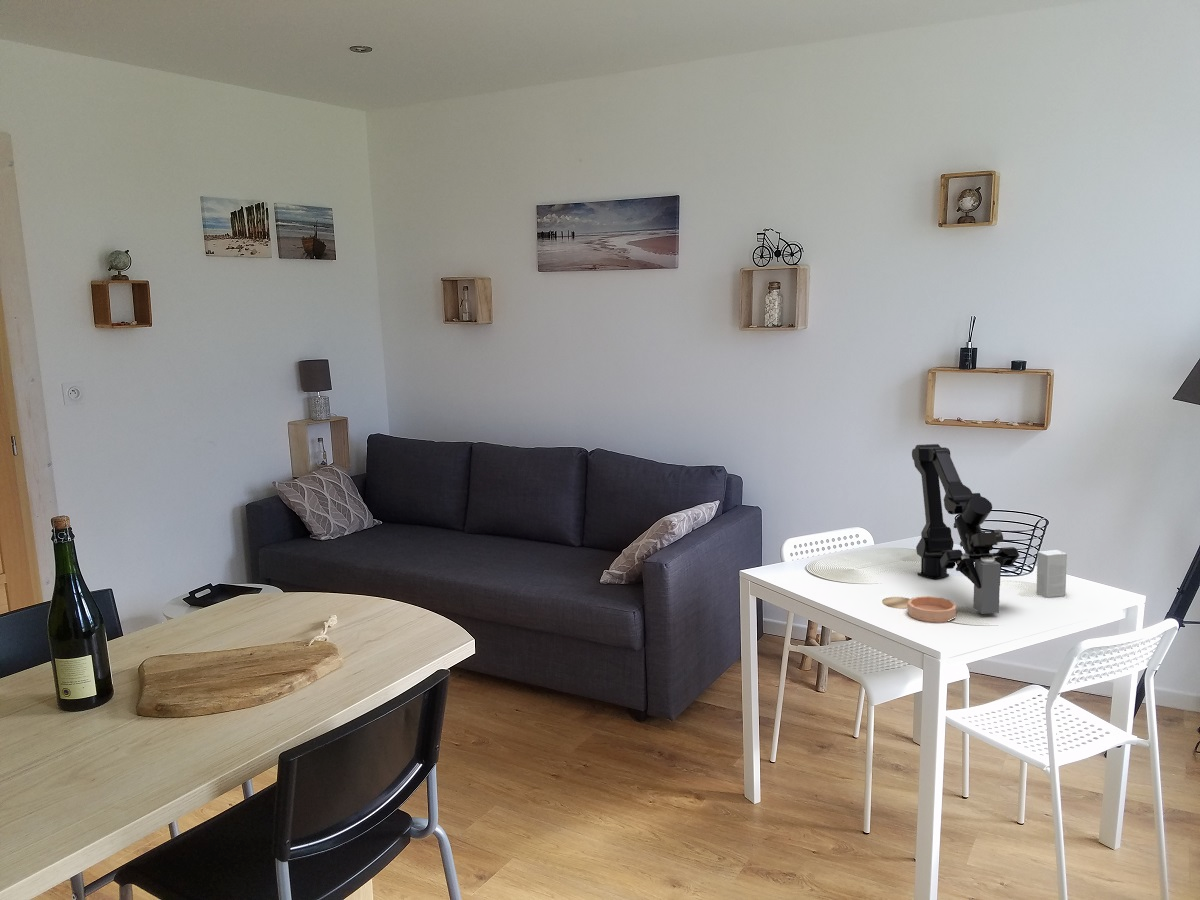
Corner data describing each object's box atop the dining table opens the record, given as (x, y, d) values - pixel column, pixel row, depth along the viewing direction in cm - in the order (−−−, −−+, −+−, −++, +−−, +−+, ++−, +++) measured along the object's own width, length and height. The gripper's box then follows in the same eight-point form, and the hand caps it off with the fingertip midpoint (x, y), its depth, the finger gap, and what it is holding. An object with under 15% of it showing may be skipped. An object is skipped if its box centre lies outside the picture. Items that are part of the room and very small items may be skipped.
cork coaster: (876, 605, 232) (876, 603, 232) (891, 596, 239) (891, 594, 238) (908, 612, 226) (908, 610, 226) (922, 603, 232) (922, 601, 232)
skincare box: (1055, 591, 237) (1056, 549, 235) (1065, 596, 233) (1067, 553, 231) (1035, 593, 236) (1037, 551, 234) (1045, 598, 232) (1047, 555, 230)
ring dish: (898, 613, 224) (898, 602, 224) (927, 604, 230) (927, 593, 230) (936, 626, 214) (936, 614, 214) (965, 616, 220) (965, 605, 220)
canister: (973, 607, 223) (974, 556, 221) (990, 606, 223) (992, 555, 221) (981, 613, 219) (983, 561, 217) (998, 612, 219) (1000, 560, 217)
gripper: (945, 520, 221) (963, 574, 212) (1017, 517, 221) (1038, 570, 212) (932, 541, 230) (949, 594, 221) (1001, 538, 230) (1020, 591, 221)
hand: (989, 587), depth 219 cm, fingers closed on canister, 4 cm apart
